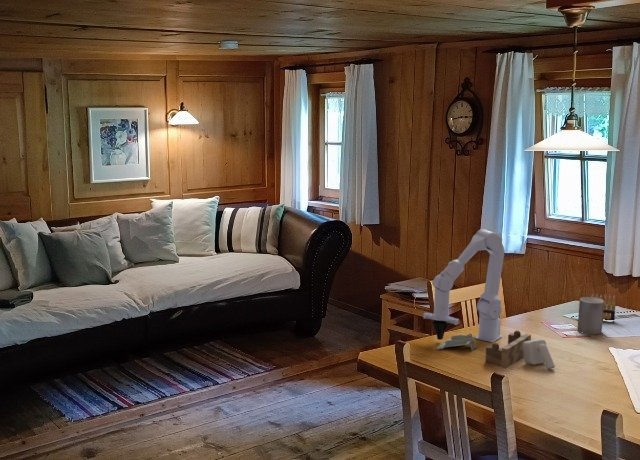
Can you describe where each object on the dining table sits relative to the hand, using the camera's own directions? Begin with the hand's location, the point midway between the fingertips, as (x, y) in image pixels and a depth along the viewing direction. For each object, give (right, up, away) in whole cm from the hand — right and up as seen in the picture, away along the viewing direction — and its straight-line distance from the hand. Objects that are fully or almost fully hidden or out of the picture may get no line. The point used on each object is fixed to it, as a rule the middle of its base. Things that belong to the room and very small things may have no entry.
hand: (440, 339), depth 298 cm
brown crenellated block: (+24, -5, -17) cm, 29 cm away
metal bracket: (+6, -3, -5) cm, 8 cm away
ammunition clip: (+77, +3, +35) cm, 84 cm away
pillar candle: (+65, 0, +19) cm, 68 cm away
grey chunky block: (+33, -6, -25) cm, 42 cm away
